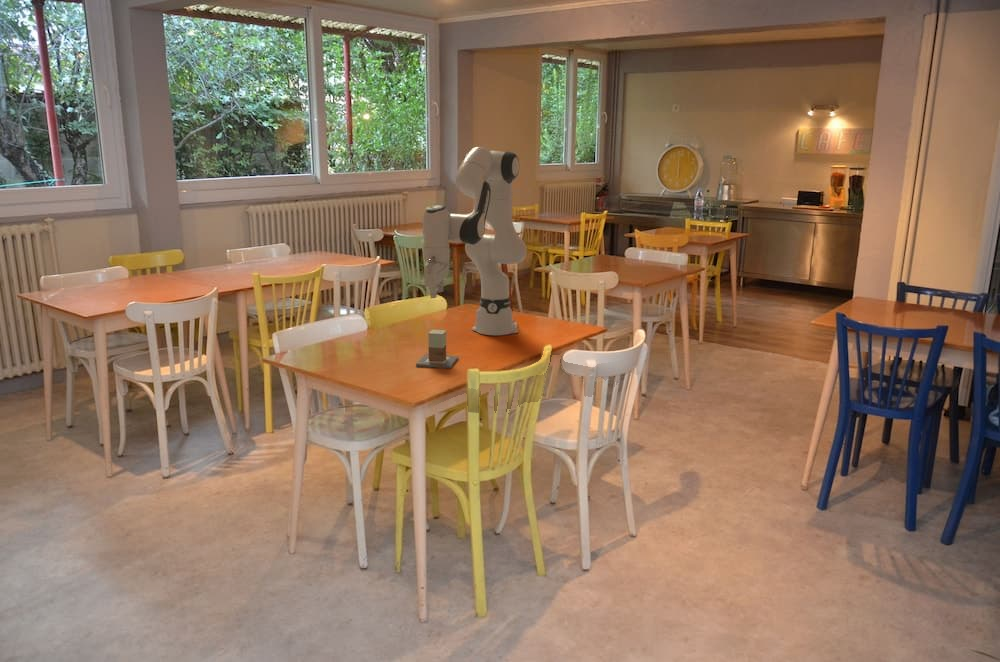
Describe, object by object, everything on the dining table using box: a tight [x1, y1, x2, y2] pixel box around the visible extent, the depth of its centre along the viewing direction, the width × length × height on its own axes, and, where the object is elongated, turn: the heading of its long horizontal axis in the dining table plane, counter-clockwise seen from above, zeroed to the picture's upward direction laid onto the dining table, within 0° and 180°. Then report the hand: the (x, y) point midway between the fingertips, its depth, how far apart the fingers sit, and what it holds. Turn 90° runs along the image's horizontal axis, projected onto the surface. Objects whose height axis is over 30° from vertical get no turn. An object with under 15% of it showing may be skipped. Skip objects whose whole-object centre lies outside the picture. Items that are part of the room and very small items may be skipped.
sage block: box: [428, 329, 447, 348], centre depth 270 cm, size 5×5×5 cm
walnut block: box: [428, 344, 447, 362], centre depth 271 cm, size 5×5×5 cm
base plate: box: [415, 353, 459, 369], centre depth 272 cm, size 12×12×1 cm
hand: (437, 294), depth 266 cm, fingers open, 8 cm apart
